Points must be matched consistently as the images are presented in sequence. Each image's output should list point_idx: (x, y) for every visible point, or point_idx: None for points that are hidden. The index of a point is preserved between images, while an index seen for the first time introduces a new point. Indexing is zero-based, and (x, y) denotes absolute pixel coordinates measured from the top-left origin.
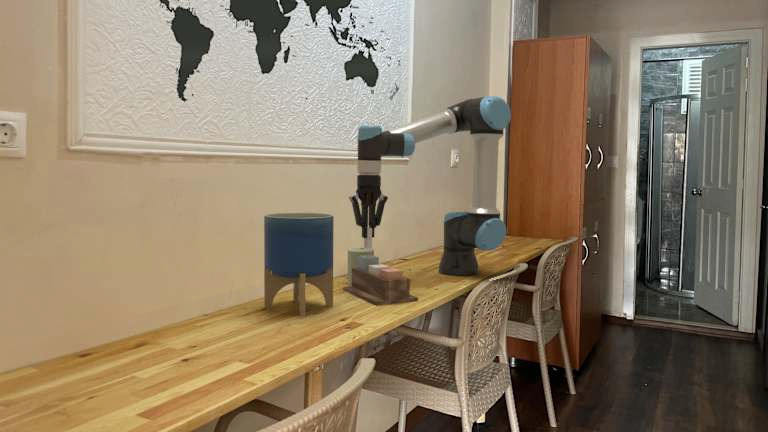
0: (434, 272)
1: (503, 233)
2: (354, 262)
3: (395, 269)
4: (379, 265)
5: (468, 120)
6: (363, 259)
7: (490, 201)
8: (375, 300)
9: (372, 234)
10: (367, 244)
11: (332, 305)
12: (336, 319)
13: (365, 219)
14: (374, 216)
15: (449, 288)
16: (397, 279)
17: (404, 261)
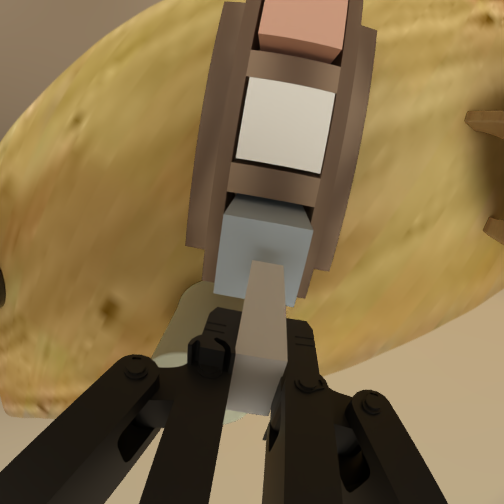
0: (12, 300)
1: None
2: None
3: (279, 8)
4: (276, 135)
5: None
6: (308, 242)
7: None
8: (368, 44)
9: (225, 324)
10: (282, 281)
11: (470, 111)
12: (497, 31)
13: (325, 451)
14: (168, 465)
15: (48, 116)
16: None
17: (43, 400)
